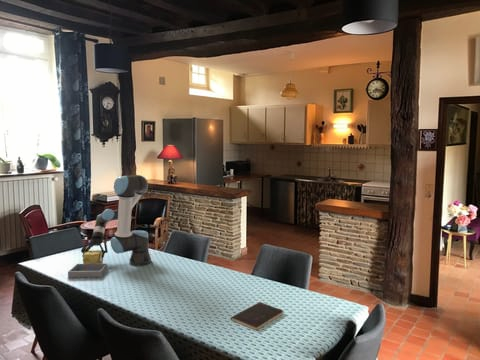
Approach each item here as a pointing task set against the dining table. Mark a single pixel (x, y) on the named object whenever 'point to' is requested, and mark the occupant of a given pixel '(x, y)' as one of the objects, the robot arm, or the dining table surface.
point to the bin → (87, 271)
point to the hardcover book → (257, 315)
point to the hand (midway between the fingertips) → (91, 261)
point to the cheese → (92, 257)
